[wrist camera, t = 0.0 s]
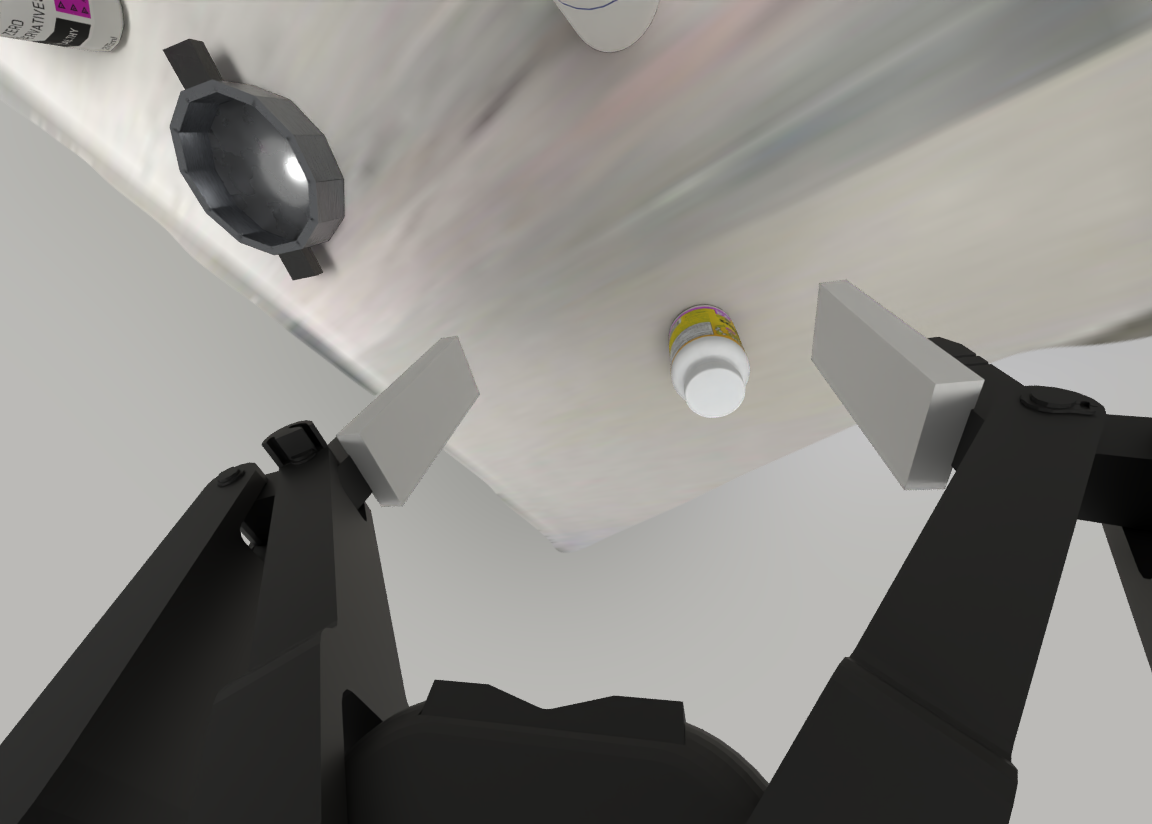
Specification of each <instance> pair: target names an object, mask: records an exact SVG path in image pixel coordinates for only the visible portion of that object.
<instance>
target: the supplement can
mask: <svg viewBox="0 0 1152 824" xmlns="http://www.w3.org/2000/svg"><path fill="white" fill-rule="evenodd" d="M123 27H124V21H123V12H122V6H121V3H120V1H119V0H0V36H1V37H7V38H13V39H20V40H26V41H32V42H38V43H45V44H51V45H57V46H63V47H70V48H76V49H82V50H88V51H95V52H104V51H111V50H112V49H113V48H114V47H115V46H116V45H117V44H118V43H119V40H120V38H121V35H122V31H123Z"/></svg>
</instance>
